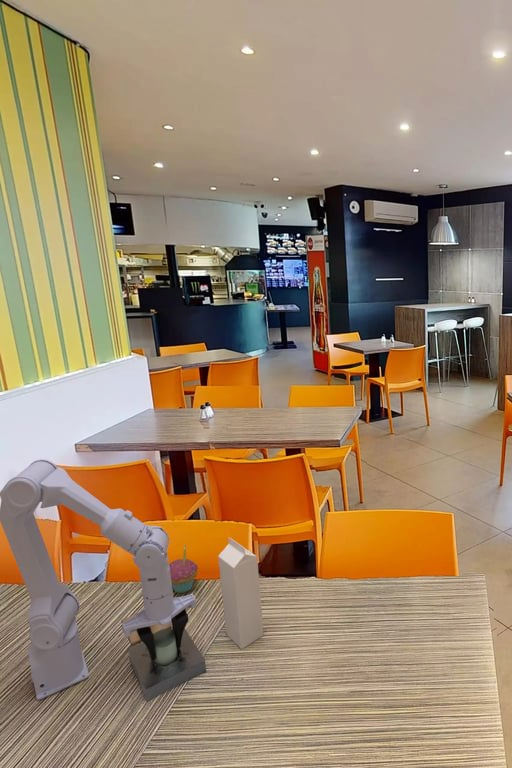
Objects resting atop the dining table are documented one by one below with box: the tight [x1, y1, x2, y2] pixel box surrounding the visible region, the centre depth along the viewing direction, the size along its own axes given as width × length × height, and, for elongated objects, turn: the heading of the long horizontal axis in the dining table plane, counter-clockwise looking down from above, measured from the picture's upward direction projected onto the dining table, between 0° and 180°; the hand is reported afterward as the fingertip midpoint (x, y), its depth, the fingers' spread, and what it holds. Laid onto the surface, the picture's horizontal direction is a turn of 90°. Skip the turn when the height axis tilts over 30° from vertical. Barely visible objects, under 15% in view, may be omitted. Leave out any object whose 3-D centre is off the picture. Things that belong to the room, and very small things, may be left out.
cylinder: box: [154, 628, 179, 667], centre depth 90 cm, size 5×5×6 cm
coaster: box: [120, 612, 172, 647], centre depth 103 cm, size 9×9×1 cm
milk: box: [217, 537, 264, 650], centre depth 95 cm, size 6×6×22 cm
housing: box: [127, 627, 207, 702], centre depth 91 cm, size 12×12×2 cm
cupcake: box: [169, 544, 199, 594], centre depth 114 cm, size 9×8×12 cm
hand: (165, 650), depth 90 cm, fingers closed on cylinder, 5 cm apart
